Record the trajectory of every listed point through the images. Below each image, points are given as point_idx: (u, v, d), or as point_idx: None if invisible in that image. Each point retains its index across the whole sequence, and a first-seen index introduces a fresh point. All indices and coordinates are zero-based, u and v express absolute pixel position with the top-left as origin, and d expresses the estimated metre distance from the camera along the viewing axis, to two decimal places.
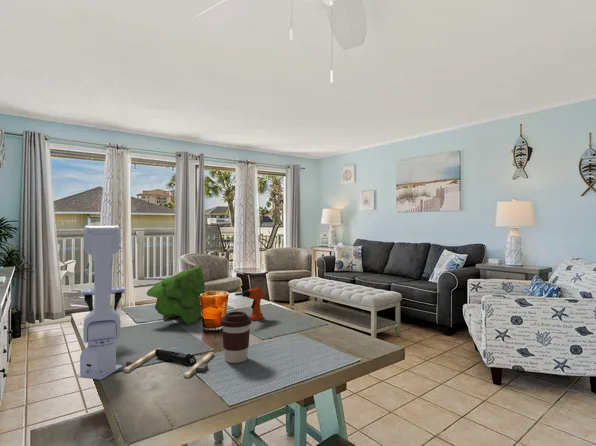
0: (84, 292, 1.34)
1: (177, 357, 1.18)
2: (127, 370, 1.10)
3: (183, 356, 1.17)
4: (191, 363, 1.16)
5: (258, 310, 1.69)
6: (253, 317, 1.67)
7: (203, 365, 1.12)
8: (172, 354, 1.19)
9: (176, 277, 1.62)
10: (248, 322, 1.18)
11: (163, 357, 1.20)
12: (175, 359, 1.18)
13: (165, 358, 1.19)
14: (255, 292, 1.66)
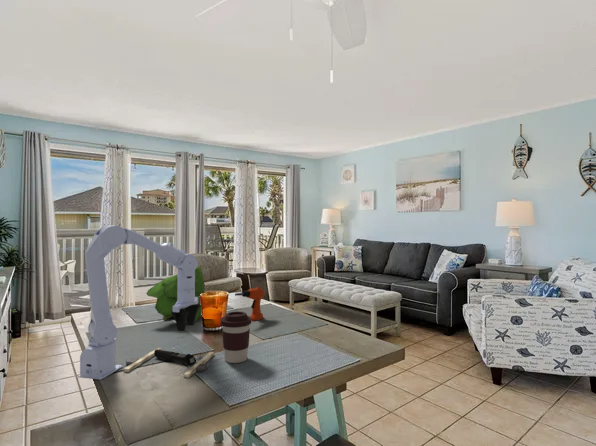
0: None
1: (177, 357, 1.17)
2: (127, 370, 1.10)
3: (183, 356, 1.17)
4: (191, 363, 1.16)
5: (258, 310, 1.69)
6: (253, 317, 1.67)
7: (203, 365, 1.12)
8: (172, 354, 1.19)
9: (176, 277, 1.62)
10: (248, 322, 1.18)
11: (162, 357, 1.20)
12: (175, 359, 1.18)
13: (164, 358, 1.19)
14: (255, 292, 1.66)
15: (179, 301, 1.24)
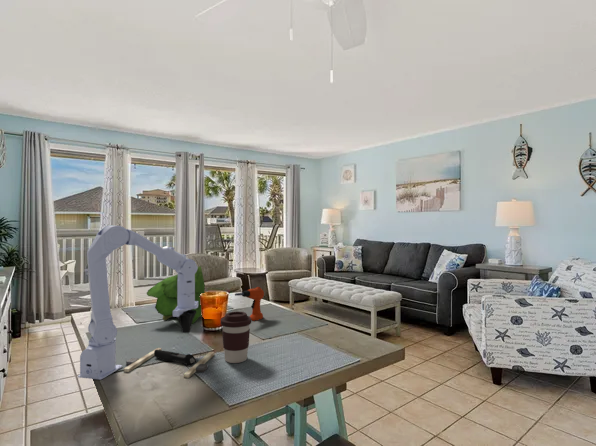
0: None
1: (177, 357, 1.17)
2: (127, 370, 1.10)
3: (183, 356, 1.17)
4: (191, 363, 1.16)
5: (258, 310, 1.69)
6: (253, 317, 1.67)
7: (203, 365, 1.12)
8: (171, 354, 1.19)
9: (176, 277, 1.62)
10: (248, 322, 1.18)
11: (162, 357, 1.20)
12: (175, 359, 1.18)
13: (164, 358, 1.19)
14: (255, 292, 1.66)
15: (179, 305, 1.24)
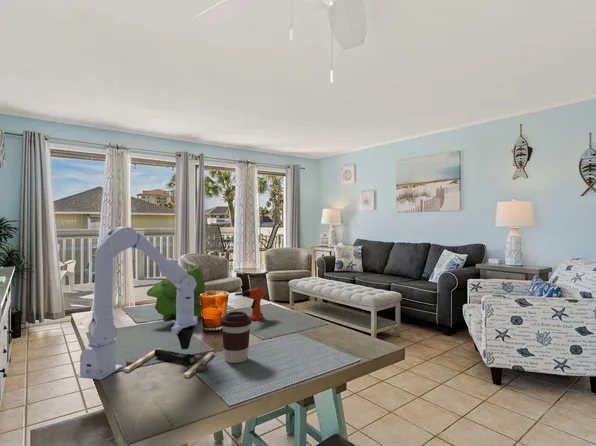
0: None
1: (177, 357, 1.18)
2: (127, 370, 1.10)
3: (183, 356, 1.17)
4: (191, 363, 1.16)
5: (258, 310, 1.69)
6: (253, 317, 1.67)
7: (203, 365, 1.12)
8: (171, 354, 1.19)
9: None
10: (248, 322, 1.18)
11: (162, 357, 1.20)
12: (175, 359, 1.18)
13: (164, 358, 1.19)
14: (255, 292, 1.66)
15: (178, 322, 1.24)
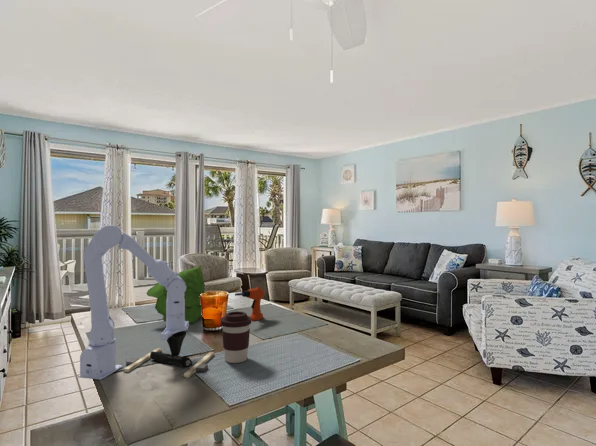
0: None
1: (173, 359, 1.16)
2: (127, 370, 1.10)
3: (179, 358, 1.16)
4: (187, 365, 1.14)
5: (258, 310, 1.69)
6: (253, 317, 1.67)
7: (203, 365, 1.12)
8: (167, 356, 1.17)
9: None
10: (248, 322, 1.18)
11: (158, 359, 1.18)
12: (171, 361, 1.16)
13: (160, 360, 1.17)
14: (255, 292, 1.66)
15: (168, 327, 1.17)
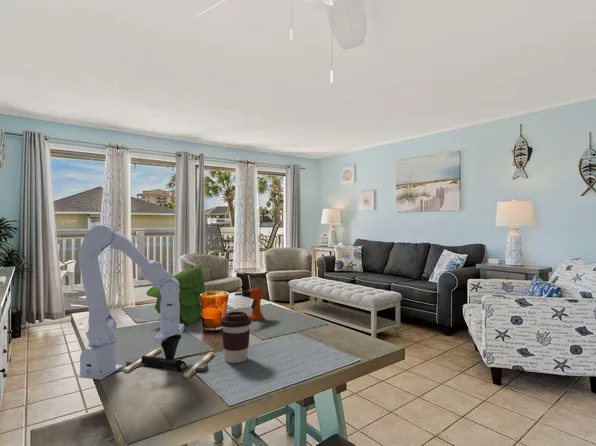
0: None
1: (166, 363, 1.13)
2: (127, 370, 1.10)
3: (173, 362, 1.13)
4: (182, 369, 1.12)
5: (258, 310, 1.69)
6: (253, 317, 1.67)
7: (203, 365, 1.12)
8: (161, 360, 1.14)
9: (176, 277, 1.62)
10: (248, 322, 1.18)
11: (151, 364, 1.14)
12: (164, 365, 1.13)
13: (153, 365, 1.14)
14: (255, 292, 1.66)
15: (162, 330, 1.14)
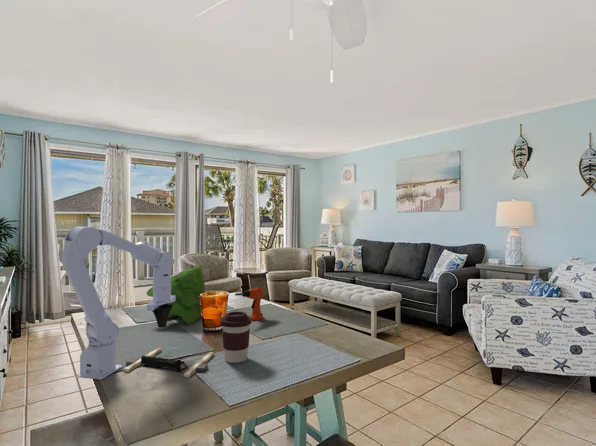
0: None
1: (166, 363, 1.12)
2: (127, 370, 1.10)
3: (172, 362, 1.13)
4: (181, 369, 1.12)
5: (258, 310, 1.69)
6: (253, 317, 1.67)
7: (203, 365, 1.12)
8: (160, 360, 1.14)
9: (176, 277, 1.62)
10: (248, 322, 1.18)
11: (150, 364, 1.14)
12: (164, 366, 1.13)
13: (153, 365, 1.14)
14: (255, 292, 1.66)
15: (154, 299, 1.22)
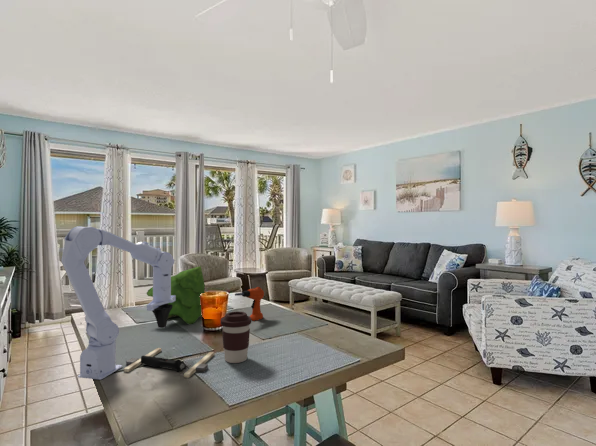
0: None
1: (166, 363, 1.12)
2: (127, 370, 1.10)
3: (172, 362, 1.13)
4: (181, 369, 1.11)
5: (258, 310, 1.69)
6: (253, 317, 1.67)
7: (203, 365, 1.12)
8: (160, 360, 1.14)
9: (176, 277, 1.62)
10: (248, 322, 1.18)
11: (150, 364, 1.14)
12: (163, 365, 1.13)
13: (152, 365, 1.14)
14: (255, 292, 1.66)
15: (154, 299, 1.22)
